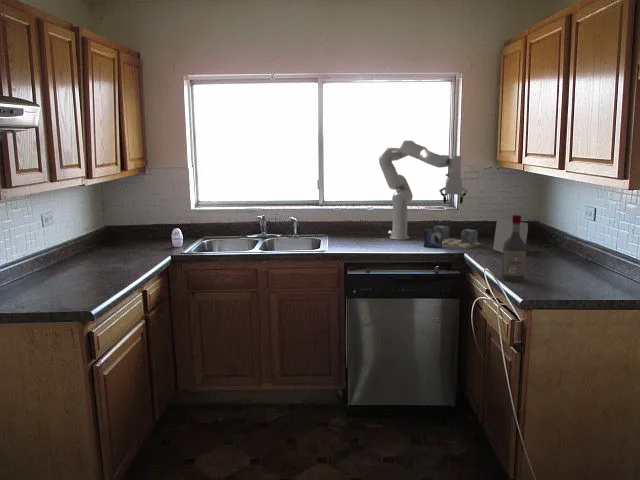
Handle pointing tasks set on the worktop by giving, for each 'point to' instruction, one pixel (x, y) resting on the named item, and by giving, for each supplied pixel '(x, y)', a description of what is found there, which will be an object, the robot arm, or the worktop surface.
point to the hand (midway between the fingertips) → (452, 203)
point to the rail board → (466, 238)
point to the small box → (433, 238)
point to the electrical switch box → (507, 233)
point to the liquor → (514, 254)
